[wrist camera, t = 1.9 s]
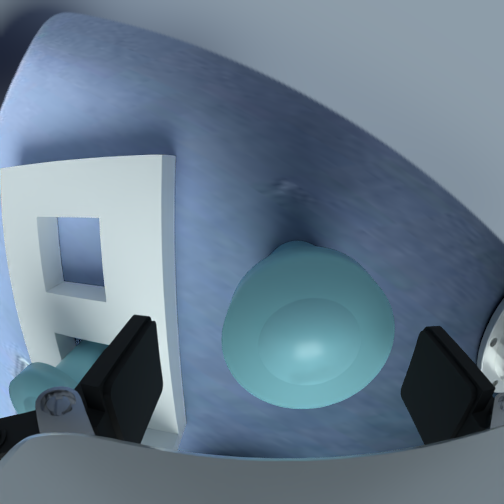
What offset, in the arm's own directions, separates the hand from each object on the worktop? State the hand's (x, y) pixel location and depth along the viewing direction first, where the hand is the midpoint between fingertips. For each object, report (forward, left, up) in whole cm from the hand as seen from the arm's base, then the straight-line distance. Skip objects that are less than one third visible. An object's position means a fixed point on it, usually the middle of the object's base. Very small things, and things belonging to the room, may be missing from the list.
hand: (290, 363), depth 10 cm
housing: (+14, +4, -11) cm, 18 cm away
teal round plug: (-1, 0, -11) cm, 11 cm away
